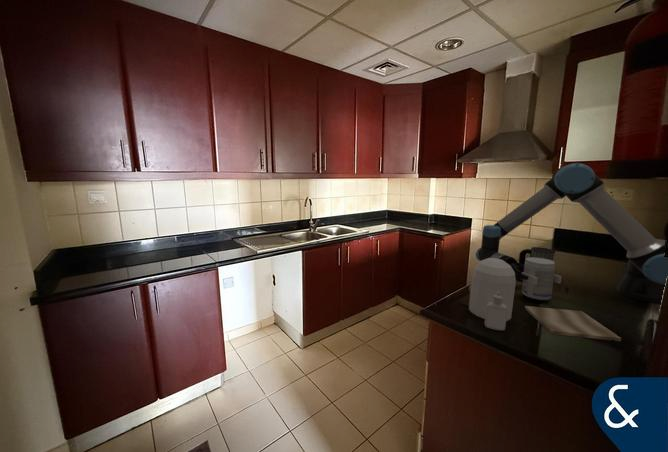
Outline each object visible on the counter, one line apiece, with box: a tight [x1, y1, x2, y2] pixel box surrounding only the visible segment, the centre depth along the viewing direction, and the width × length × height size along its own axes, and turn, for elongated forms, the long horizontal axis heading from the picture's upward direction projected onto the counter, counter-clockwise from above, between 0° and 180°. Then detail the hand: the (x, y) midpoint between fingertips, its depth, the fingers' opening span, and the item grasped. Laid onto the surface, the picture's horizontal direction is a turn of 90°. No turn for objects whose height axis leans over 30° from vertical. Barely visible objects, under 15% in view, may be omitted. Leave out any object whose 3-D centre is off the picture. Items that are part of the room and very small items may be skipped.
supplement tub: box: [521, 256, 556, 301], centre depth 106 cm, size 10×10×15 cm
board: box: [524, 305, 622, 342], centre depth 89 cm, size 18×17×1 cm
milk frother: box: [518, 246, 556, 282], centre depth 127 cm, size 14×16×15 cm
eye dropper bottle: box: [484, 292, 507, 331], centre depth 85 cm, size 4×6×12 cm
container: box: [468, 258, 517, 322], centre depth 94 cm, size 14×13×20 cm
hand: (548, 280), depth 101 cm, fingers closed on supplement tub, 9 cm apart
